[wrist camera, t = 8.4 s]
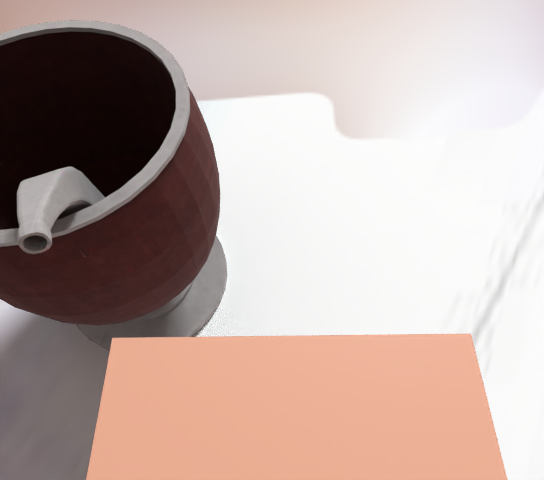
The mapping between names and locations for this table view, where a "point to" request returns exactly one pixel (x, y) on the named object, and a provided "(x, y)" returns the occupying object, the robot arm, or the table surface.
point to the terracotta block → (295, 409)
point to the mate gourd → (105, 184)
